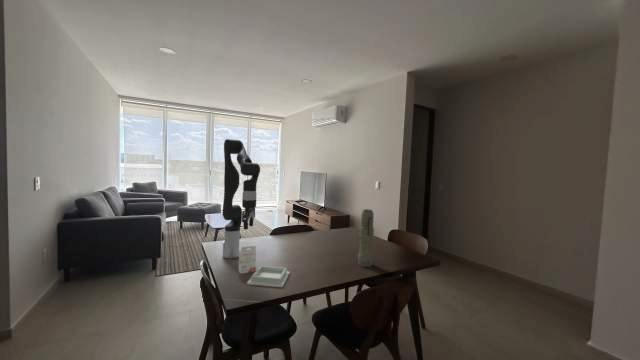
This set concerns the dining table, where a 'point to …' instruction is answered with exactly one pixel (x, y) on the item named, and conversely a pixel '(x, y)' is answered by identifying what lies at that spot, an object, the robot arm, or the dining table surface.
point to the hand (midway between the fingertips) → (248, 227)
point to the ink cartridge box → (247, 259)
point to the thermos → (366, 239)
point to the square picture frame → (269, 276)
